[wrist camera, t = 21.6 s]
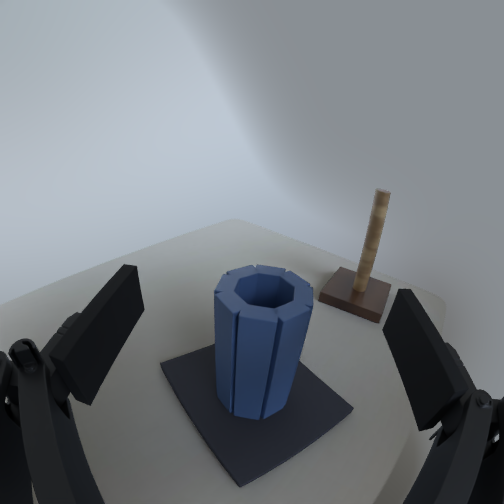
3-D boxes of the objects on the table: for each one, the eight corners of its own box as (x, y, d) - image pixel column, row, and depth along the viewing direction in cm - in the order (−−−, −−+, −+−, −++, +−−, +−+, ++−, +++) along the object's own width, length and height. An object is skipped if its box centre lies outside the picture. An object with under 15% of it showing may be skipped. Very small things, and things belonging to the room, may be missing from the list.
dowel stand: (388, 292, 39) (416, 195, 32) (378, 323, 32) (416, 207, 25) (338, 274, 43) (357, 179, 36) (318, 300, 36) (340, 185, 29)
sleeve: (300, 397, 21) (332, 298, 16) (243, 430, 18) (253, 334, 13) (260, 357, 25) (273, 258, 21) (206, 381, 22) (200, 278, 17)
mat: (351, 412, 20) (354, 407, 20) (239, 487, 14) (239, 485, 13) (260, 330, 30) (261, 325, 30) (161, 367, 24) (159, 362, 23)
